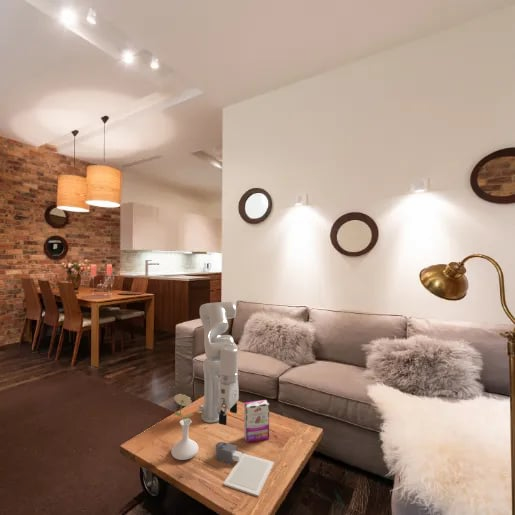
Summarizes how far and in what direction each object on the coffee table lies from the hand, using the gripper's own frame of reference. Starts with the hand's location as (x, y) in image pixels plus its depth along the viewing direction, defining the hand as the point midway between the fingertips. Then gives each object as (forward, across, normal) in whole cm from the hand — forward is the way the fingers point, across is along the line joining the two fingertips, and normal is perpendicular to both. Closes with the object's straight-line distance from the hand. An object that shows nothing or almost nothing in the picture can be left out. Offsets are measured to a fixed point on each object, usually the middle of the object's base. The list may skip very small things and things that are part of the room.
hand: (228, 418), depth 121 cm
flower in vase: (+17, -4, +19) cm, 26 cm away
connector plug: (+17, 0, 0) cm, 17 cm away
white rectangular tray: (+17, -4, -12) cm, 21 cm away
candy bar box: (+17, +18, -6) cm, 26 cm away
